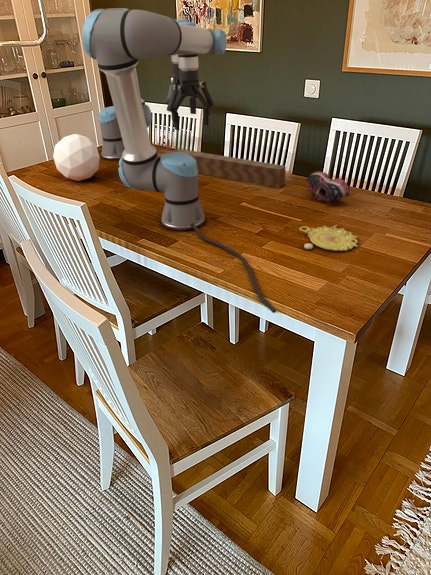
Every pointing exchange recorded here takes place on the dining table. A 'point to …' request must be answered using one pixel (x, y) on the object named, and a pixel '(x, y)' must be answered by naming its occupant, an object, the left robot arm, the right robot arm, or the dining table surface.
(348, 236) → the decorative object
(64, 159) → the sphere
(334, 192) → the athletic shoe
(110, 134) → the left robot arm
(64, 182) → the dining table surface
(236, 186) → the dining table surface
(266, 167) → the beam
